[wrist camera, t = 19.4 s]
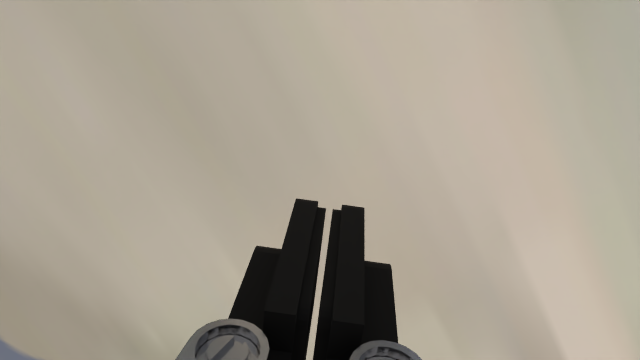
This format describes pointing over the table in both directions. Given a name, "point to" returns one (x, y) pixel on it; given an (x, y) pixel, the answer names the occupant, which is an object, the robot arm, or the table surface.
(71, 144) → the table surface
